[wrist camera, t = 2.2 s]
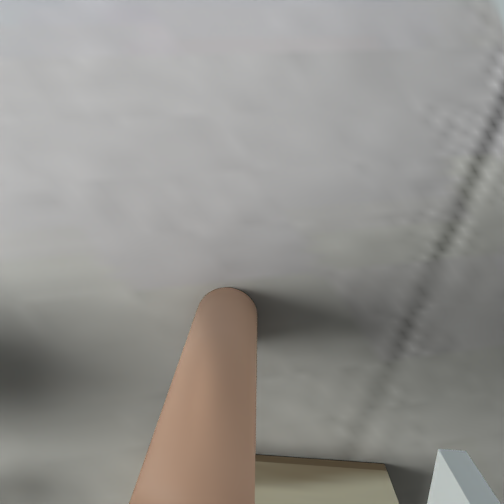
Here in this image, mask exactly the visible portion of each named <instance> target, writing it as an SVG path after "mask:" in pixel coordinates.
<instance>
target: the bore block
mask: <svg viewBox="0 0 504 504" xmlns="http://www.w3.org/2000/svg"><path fill="white" fill-rule="evenodd" d="M255 504H399V502H398V499H397V497H396V494H395V491H394V488H393V486H392V483H391V480H390V478H389V475H388V472H387V470H386V467H385V464H379V463H365V462H351V461H337V460H323V459H309V458H295V457H281V456H267V455H255Z"/></svg>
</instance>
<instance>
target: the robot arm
mask: <svg viewBox="0 0 504 504" xmlns="http://www.w3.org/2000/svg"><path fill="white" fill-rule="evenodd" d="M427 504H500V502H499V501H498V499H497V497H496V496H495V494H494V493H493V491H492V490H491V488H490V487H489V485H488V484H487V482H486V481H485V479H484V478H483V476H482V475H481V473H480V472H479V470H478V469H477V467H476V466H475V464H474V463H473V461H472V460H471V458H470V456H469V455H468V453H467V452H466V451H461V450H447V449H438V453H437V458H436V463H435V468H434V472H433V477H432V482H431V487H430V492H429V497H428V501H427Z"/></svg>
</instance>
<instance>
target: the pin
mask: <svg viewBox="0 0 504 504" xmlns="http://www.w3.org/2000/svg"><path fill="white" fill-rule="evenodd" d="M256 378H257V309H256V306H255V304H254V302H253V301H252V299H251V298H250V297H249V296H248V295H247V294H245V293H244V292H242V291H240V290H238V289H234V288H219V289H215V290H213V291H211V292H209V293H208V294H207V295H205V296H204V297H203V299H202V300H201V302H200V303H199V306H198V308H197V311H196V314H195V317H194V320H193V323H192V326H191V328H190V331H189V334H188V337H187V340H186V343H185V346H184V348H183V351H182V354H181V357H180V360H179V363H178V366H177V368H176V371H175V374H174V377H173V380H172V383H171V385H170V388H169V391H168V394H167V397H166V400H165V403H164V405H163V408H162V411H161V414H160V417H159V420H158V423H157V425H156V428H155V431H154V434H153V437H152V440H151V443H150V445H149V448H148V451H147V454H146V457H145V460H144V463H143V465H142V468H141V471H140V474H139V477H138V480H137V482H136V485H135V488H134V491H133V494H132V497H131V500H130V502H129V504H255V447H256Z"/></svg>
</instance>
